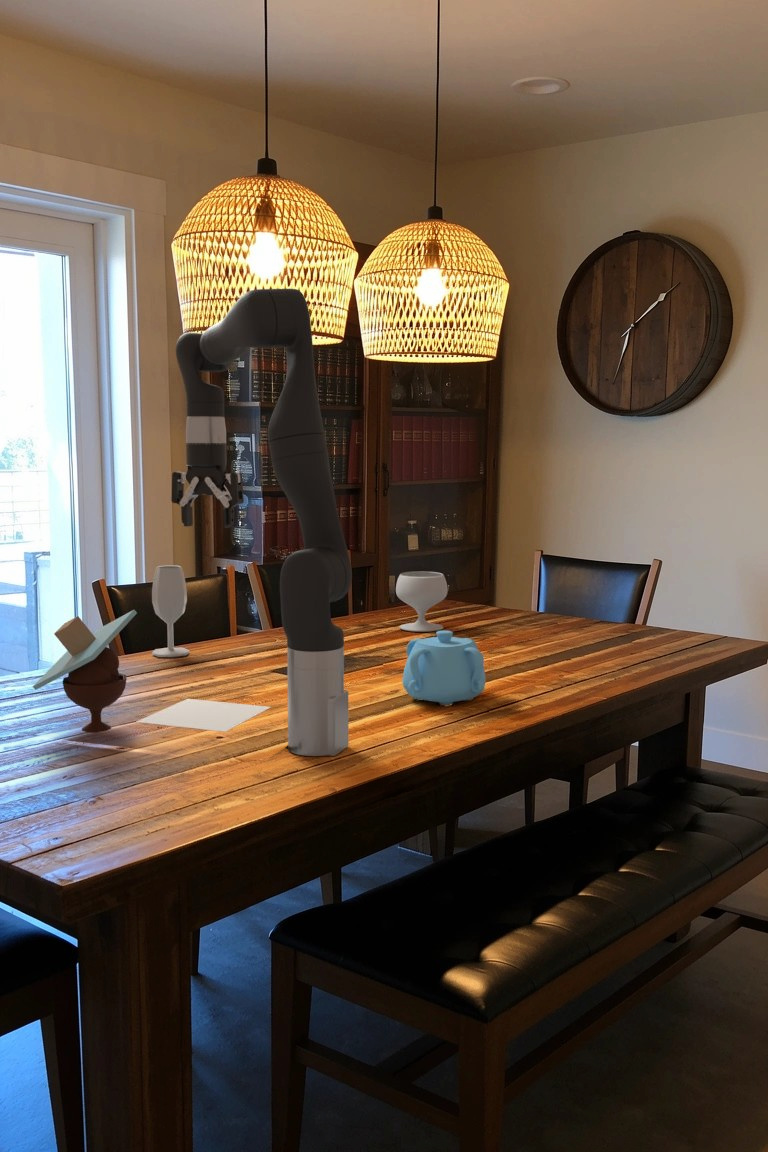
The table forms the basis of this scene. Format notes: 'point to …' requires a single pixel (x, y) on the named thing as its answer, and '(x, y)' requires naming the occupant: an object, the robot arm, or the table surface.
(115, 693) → the ice cream bowl
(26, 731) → the table surface
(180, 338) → the robot arm
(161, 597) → the wineglass
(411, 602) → the chalice
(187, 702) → the mat
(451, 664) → the decorative pot
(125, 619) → the cover sheet
